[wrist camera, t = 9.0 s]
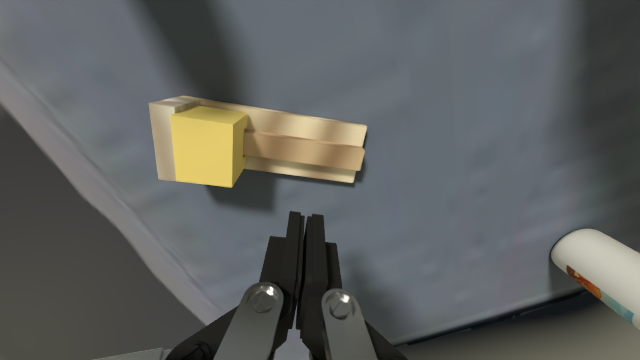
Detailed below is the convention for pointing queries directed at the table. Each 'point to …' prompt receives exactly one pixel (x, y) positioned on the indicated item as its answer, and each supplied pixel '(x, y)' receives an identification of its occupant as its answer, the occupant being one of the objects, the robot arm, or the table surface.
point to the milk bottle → (602, 269)
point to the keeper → (208, 145)
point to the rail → (296, 129)
